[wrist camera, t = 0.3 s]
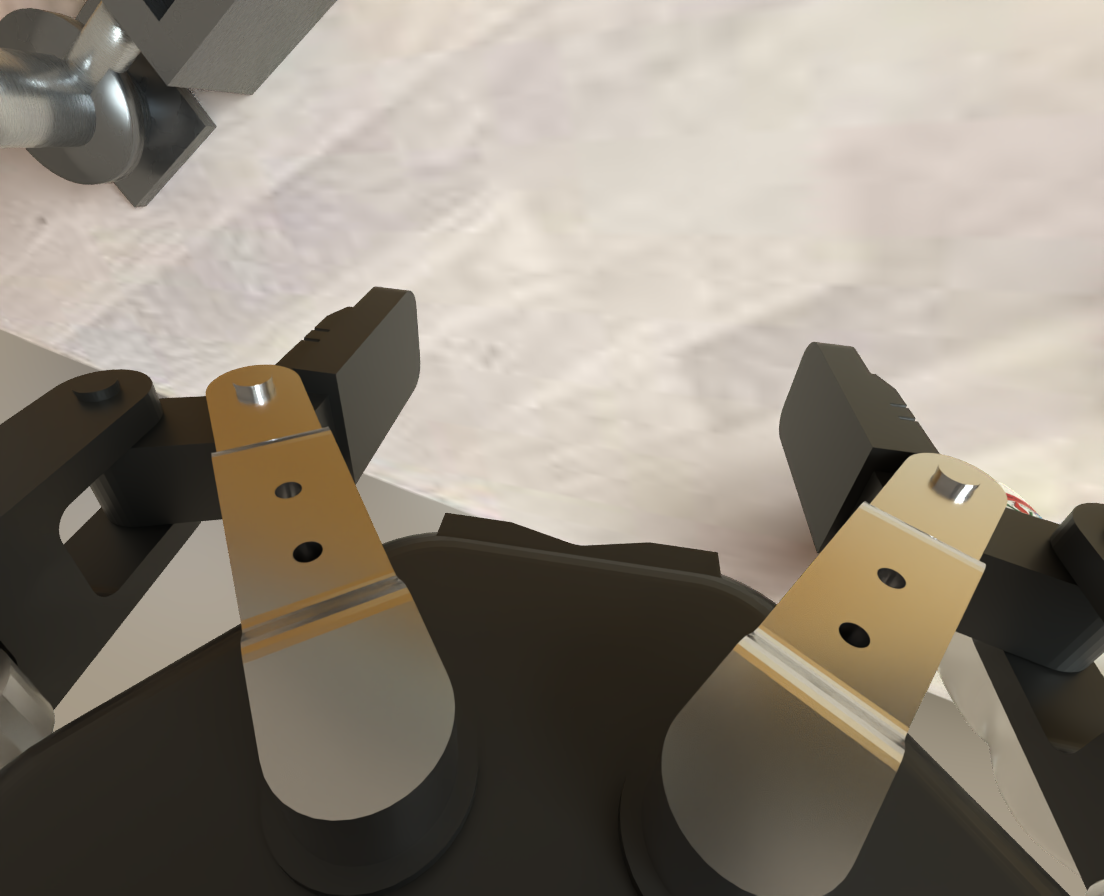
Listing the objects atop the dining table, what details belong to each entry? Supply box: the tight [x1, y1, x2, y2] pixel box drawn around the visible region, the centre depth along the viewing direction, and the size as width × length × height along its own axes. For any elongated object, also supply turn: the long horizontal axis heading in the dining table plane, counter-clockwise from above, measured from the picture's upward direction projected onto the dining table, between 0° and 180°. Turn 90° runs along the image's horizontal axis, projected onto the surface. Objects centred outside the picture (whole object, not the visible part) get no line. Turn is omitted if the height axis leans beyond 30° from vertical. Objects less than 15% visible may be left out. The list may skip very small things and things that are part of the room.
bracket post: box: [0, 0, 337, 207], centre depth 28 cm, size 21×10×18 cm, turn 124°
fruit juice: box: [937, 480, 1104, 877], centre depth 29 cm, size 9×9×28 cm
